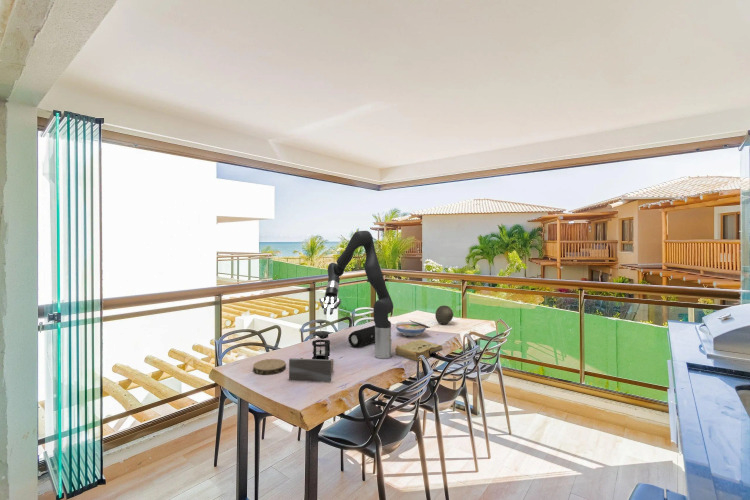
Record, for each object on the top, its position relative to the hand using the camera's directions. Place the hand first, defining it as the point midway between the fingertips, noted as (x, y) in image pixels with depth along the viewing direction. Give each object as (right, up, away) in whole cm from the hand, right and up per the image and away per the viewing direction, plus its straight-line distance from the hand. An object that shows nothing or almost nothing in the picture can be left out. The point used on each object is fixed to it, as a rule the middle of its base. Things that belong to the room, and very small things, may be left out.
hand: (327, 313), depth 207 cm
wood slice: (-27, -25, -24) cm, 44 cm away
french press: (-2, -24, -14) cm, 29 cm away
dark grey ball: (+83, -23, +82) cm, 119 cm away
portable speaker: (+21, -24, +25) cm, 41 cm away
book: (+53, -25, +5) cm, 59 cm away
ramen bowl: (+53, -24, +46) cm, 74 cm away
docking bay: (-3, -25, -31) cm, 40 cm away
